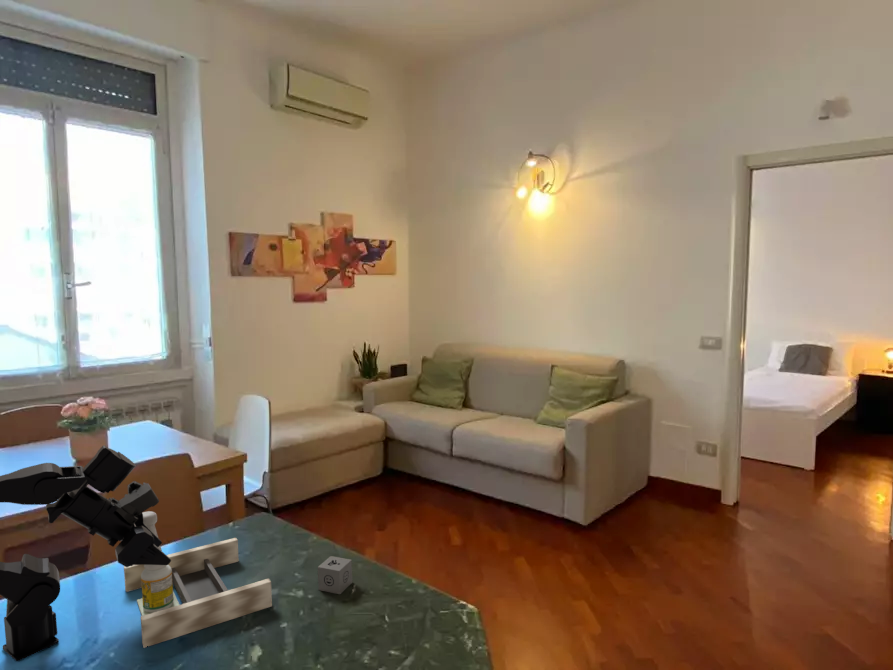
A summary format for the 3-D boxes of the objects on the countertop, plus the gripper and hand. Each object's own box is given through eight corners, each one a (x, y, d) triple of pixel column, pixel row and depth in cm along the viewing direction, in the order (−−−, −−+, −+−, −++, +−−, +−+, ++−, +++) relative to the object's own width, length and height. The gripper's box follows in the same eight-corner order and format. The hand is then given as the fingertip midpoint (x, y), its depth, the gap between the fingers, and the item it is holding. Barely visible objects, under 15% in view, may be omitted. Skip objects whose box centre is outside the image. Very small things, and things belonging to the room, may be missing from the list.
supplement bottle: (174, 609, 115) (171, 561, 114) (143, 616, 112) (140, 567, 111) (172, 595, 120) (170, 549, 119) (142, 603, 117) (139, 555, 116)
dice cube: (331, 578, 127) (330, 556, 127) (352, 582, 125) (351, 559, 125) (318, 590, 123) (317, 567, 122) (340, 594, 121) (339, 570, 120)
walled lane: (143, 647, 104) (141, 620, 103) (125, 589, 123) (123, 565, 123) (271, 606, 117) (271, 581, 116) (236, 558, 136) (235, 537, 136)
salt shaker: (169, 565, 133) (166, 508, 132) (154, 578, 128) (151, 519, 126) (144, 564, 134) (141, 508, 133) (128, 577, 128) (124, 518, 127)
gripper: (135, 489, 104) (205, 534, 111) (121, 462, 119) (184, 503, 126) (85, 545, 100) (162, 588, 107) (77, 510, 115) (145, 549, 123)
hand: (164, 553), depth 116 cm, fingers open, 9 cm apart
